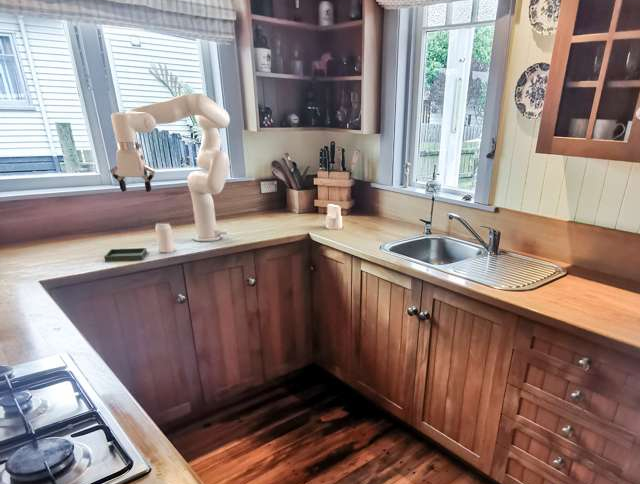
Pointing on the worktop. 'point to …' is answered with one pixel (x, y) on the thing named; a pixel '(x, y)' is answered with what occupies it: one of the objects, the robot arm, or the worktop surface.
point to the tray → (125, 254)
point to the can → (164, 237)
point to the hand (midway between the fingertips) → (136, 191)
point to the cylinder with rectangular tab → (333, 217)
